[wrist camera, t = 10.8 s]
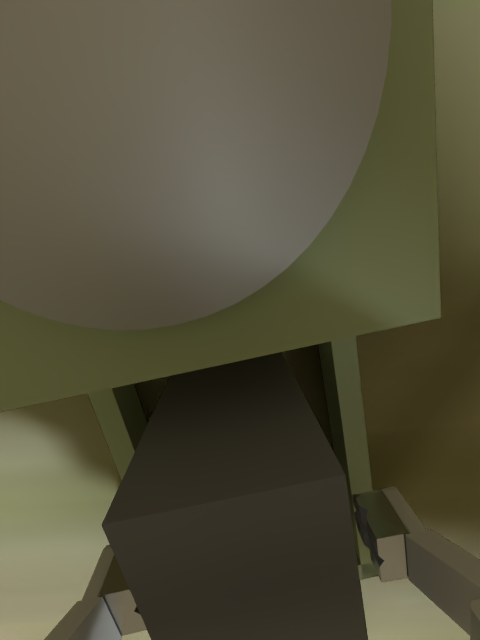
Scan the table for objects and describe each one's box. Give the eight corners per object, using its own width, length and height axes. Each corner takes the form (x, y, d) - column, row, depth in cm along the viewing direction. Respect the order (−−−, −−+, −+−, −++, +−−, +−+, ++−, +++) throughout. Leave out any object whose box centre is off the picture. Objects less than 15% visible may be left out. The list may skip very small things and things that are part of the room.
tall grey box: (276, 342, 13) (345, 474, 6) (307, 506, 16) (383, 752, 8) (174, 364, 13) (101, 525, 6) (221, 523, 16) (214, 786, 8)
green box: (303, -56, 10) (501, -856, 3) (372, 534, 16) (478, 746, 9) (-35, 22, 10) (-691, -542, 3) (172, 575, 17) (133, 813, 10)
